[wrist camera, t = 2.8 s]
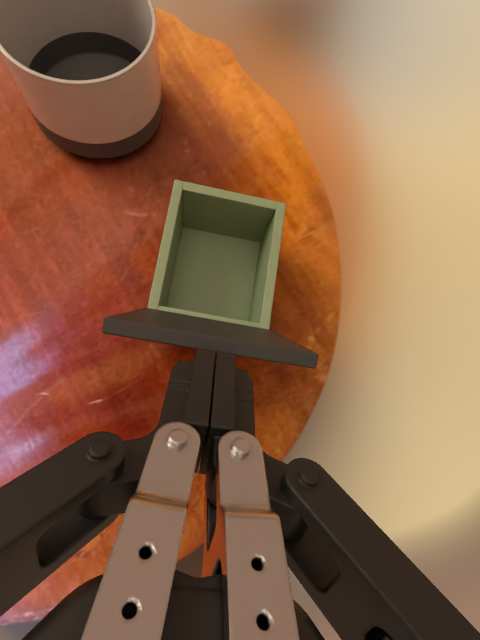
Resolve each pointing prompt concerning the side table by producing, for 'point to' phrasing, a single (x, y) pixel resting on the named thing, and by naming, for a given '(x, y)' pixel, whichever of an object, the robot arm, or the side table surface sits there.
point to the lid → (209, 336)
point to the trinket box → (218, 255)
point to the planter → (86, 70)
